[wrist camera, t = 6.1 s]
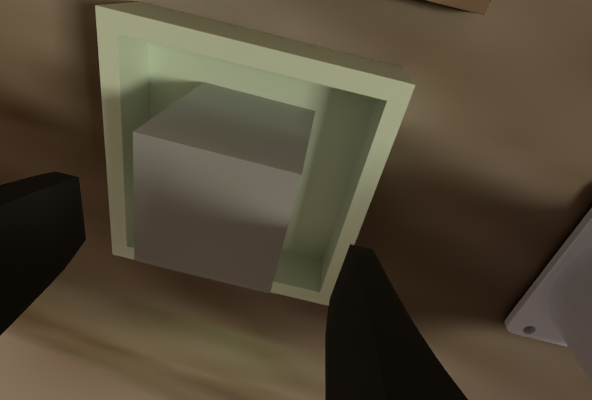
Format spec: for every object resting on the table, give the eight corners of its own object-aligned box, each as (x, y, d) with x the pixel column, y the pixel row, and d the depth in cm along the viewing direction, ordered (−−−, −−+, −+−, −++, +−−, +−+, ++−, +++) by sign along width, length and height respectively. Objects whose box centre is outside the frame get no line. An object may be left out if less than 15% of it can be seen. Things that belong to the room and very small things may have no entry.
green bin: (402, 67, 12) (415, 84, 10) (332, 265, 17) (330, 306, 15) (138, 1, 12) (95, 5, 10) (141, 220, 17) (112, 254, 14)
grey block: (315, 110, 13) (301, 174, 8) (290, 204, 15) (269, 294, 10) (203, 81, 13) (132, 131, 8) (194, 180, 15) (134, 260, 10)
